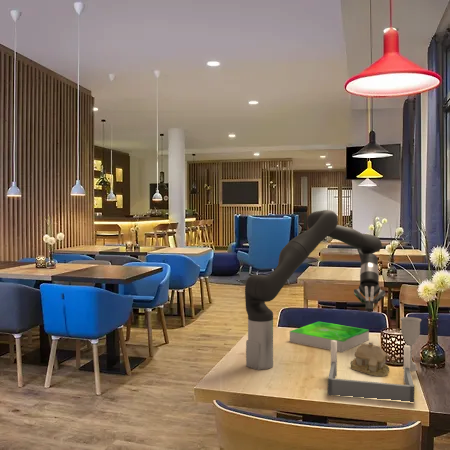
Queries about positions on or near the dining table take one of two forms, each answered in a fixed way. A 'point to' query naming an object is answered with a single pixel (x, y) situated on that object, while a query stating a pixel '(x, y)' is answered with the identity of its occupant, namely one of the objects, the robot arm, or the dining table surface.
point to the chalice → (410, 335)
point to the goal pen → (371, 388)
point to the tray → (329, 336)
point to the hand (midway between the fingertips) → (369, 310)
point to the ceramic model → (370, 360)
